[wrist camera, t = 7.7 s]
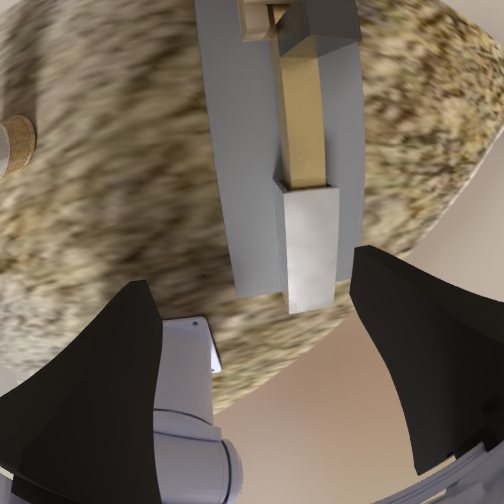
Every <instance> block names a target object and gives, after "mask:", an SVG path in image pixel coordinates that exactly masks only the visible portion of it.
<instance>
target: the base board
mask: <svg viewBox="0 0 504 504" xmlns="http://www.w3.org/2000/svg"><path fill="white" fill-rule="evenodd" d="M194 3H195V12H196V22H197V31H198V40H199V48H200V57H201V65H202V73H203V81H204V88H205V96H206V104H207V111H208V118H209V125H210V132H211V139H212V146H213V153H214V160H215V167H216V173H217V180H218V186H219V193H220V199H221V205H222V211H223V218H224V224H225V230H226V236H227V242H228V248H229V254H230V259H231V265H232V271H233V277H234V282H235V288H236V293H237V299H238V298H244V297H251V296H257V295H264V294H270V293H276V292H282V291H281V288H280V277H279V261H278V246H277V232H276V219H275V206H274V194H273V182H272V179H274V178H283V165H282V153H281V141H280V130H279V119H278V109H277V99H276V90H275V81H274V72H273V63H272V55H271V47H270V40H268V41H249V42H242V36H241V29H240V21H239V13H238V6H237V0H194ZM318 67H319V76H320V87H321V98H322V111H323V126H324V145H325V175H326V179H328V180H329V181H331V182H332V183H333V184H335V185H336V186H338V187H339V230H338V250H337V265H336V278H335V282H337V281H342V280H347V279H351V276H352V268H353V258H354V248H355V247H360V245H361V234H362V222H363V207H364V186H365V120H364V100H363V86H362V75H361V65H360V56H359V48H358V42H356V43H353V44H350V45H348V46H345V47H342V48H340V49H337V50H335V51H333V52H330V53H328V54H325V55H323V56H321V57H319V58H318Z"/></svg>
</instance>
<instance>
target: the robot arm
mask: <svg viewBox="0 0 504 504" xmlns="http://www.w3.org/2000/svg"><path fill="white" fill-rule="evenodd" d="M349 294H350V297H351V299H352V302H353V304H354V307H355V309H356V311H357V313H358V316H359V318H360V319H361V321H362V323H363V325H364V326H365V328H366V330H367V332H368V333H369V335H370V337H371V338H372V340H373V342H374V344H375V346H376V347H377V349H378V351H379V353H380V355H381V356H382V358H383V360H384V362H385V364H386V366H387V368H388V370H389V372H390V374H391V377H392V380H393V382H394V385H395V387H396V390H397V393H398V396H399V399H400V402H401V405H402V408H403V412H404V415H405V419H406V423H407V427H408V431H409V435H410V440H411V446H412V452H413V458H414V467H415V469H416V472H417V475H418V476H420V475H421V474H423V473H425V472H427V471H429V470H431V469H432V468H434V467H436V466H438V465H439V464H441V463H443V462H444V461H446V460H447V459H449V458H451V457H452V456H455V458H456V460H455V461H454V462H452V463H451V464H450V465H448V466H446V467H445V468H443V469H441V470H440V471H438V472H436V473H434V474H433V475H431V476H429V477H427V478H426V479H424V480H422V481H420V482H418V483H416V484H414V485H412V486H411V487H408V488H406V489H405V490H402V491H400V492H398V493H396V494H393V495H391V496H389V497H387V498H384V499H382V500H379V501H377V502H374V503H372V504H420V503H422V502H423V501H425V500H427V499H429V498H431V497H432V496H434V495H436V494H437V493H439V492H441V491H442V490H444V489H446V488H447V489H446V492H445V494H444V495H441V496H439V497H437V498H435V499H433V500H430V501H428V502H426V503H424V504H504V302H499V301H496V300H493V299H490V298H487V297H483V296H480V295H477V294H475V293H472V292H469V291H467V290H464V289H462V288H459V287H457V286H454V285H452V284H449V283H447V282H445V281H443V280H441V279H439V278H436V277H435V276H432V275H430V274H428V273H426V272H424V271H422V270H420V269H418V268H416V267H414V266H412V265H411V264H408V263H407V262H405V261H403V260H401V259H399V258H397V257H395V256H393V255H391V254H389V253H387V252H385V251H383V250H381V249H378V248H376V247H374V246H371V245H367V246H361V247H355V248H354V258H353V268H352V276H351V285H350V292H349ZM194 322H197V323H194ZM220 371H221V364H220V361H219V358H218V355H217V352H216V349H215V346H214V343H213V340H212V336H211V333H210V330H209V326H208V323H207V320H206V318H204V317H200V316H199V317H191V318H183V319H174V320H165V321H162V319H161V317H160V314H159V312H158V310H157V307H156V305H155V302H154V300H153V297H152V295H151V292H150V289H149V287H148V284H147V282H146V279H145V280H138V281H131V282H129V283H128V284H127V285H126V286H124V287H123V288H122V289H121V290H120V291H119V292H118V294H117V295H116V296H115V297H114V298H113V299H112V300H111V301H110V302H109V303H108V304H107V305H106V306H105V307H104V308H103V310H102V311H101V312H100V313H99V314H98V315H97V316H96V317H95V318H94V319H93V320H92V321H91V322H90V324H89V325H88V326H87V327H86V328H85V329H84V330H83V331H82V332H81V333H80V334H79V335H78V336H77V337H76V338H75V339H74V340H73V341H72V342H71V343H70V344H69V345H68V346H67V347H66V348H65V349H64V350H63V351H61V352H60V353H59V354H58V355H57V356H56V357H55V358H54V359H53V360H51V361H50V362H49V363H48V364H47V365H45V366H44V367H43V368H41V369H40V370H39V371H38V372H36V373H35V374H34V375H32V376H31V377H30V378H29V379H27V380H26V381H24V382H23V383H22V384H20V385H19V386H17V387H16V388H14V389H12V390H11V391H9V392H8V393H6V394H4V395H3V396H1V397H0V466H1V467H2V468H4V469H5V470H7V471H9V472H10V473H12V474H14V476H13V480H11V479H9V478H8V477H6V476H4V475H2V474H1V473H0V504H235V503H236V500H237V499H238V497H239V495H240V492H241V489H242V483H243V469H242V462H241V458H240V455H239V453H238V451H237V450H236V448H235V447H234V446H233V444H232V443H231V442H230V441H229V440H227V439H222V435H221V428H220V427H214V424H213V401H212V373H216V372H220Z"/></svg>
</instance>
